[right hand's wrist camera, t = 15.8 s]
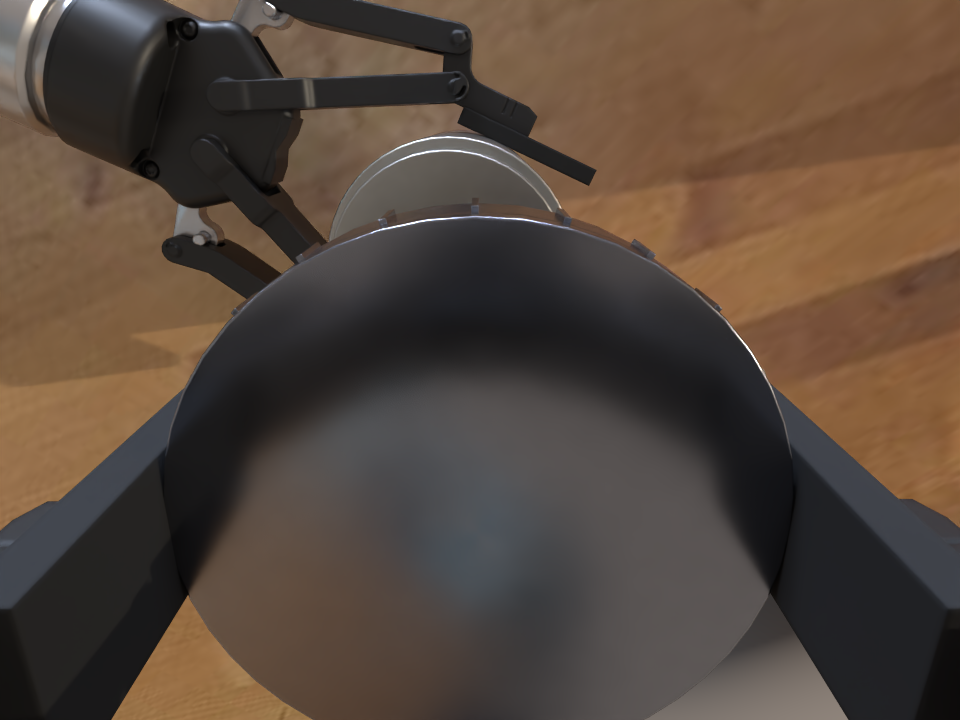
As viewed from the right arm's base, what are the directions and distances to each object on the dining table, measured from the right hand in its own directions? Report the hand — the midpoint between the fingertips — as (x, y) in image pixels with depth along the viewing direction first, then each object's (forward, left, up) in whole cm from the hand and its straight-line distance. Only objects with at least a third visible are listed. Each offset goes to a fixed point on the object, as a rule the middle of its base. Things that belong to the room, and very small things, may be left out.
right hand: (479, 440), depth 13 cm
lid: (0, 0, +3) cm, 3 cm away
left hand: (+1, +3, -20) cm, 20 cm away
